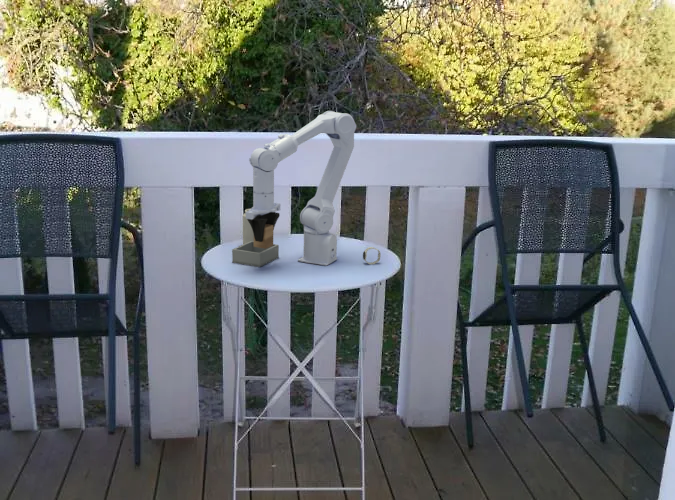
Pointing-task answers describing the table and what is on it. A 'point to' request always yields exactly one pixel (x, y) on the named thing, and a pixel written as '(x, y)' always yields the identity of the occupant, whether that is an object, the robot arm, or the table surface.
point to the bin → (254, 254)
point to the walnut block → (266, 238)
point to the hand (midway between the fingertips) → (263, 239)
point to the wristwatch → (366, 255)
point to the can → (247, 230)
